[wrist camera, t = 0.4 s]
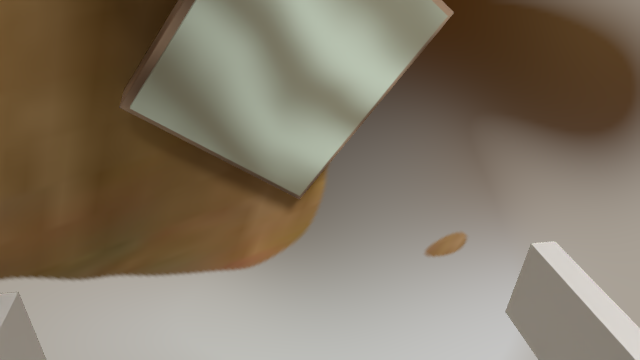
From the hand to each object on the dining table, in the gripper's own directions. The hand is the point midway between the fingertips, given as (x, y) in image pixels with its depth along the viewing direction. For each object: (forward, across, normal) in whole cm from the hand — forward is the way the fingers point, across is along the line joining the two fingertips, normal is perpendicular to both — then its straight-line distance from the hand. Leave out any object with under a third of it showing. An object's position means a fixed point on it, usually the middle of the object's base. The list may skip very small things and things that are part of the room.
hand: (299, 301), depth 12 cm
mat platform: (+24, +3, 0) cm, 25 cm away
